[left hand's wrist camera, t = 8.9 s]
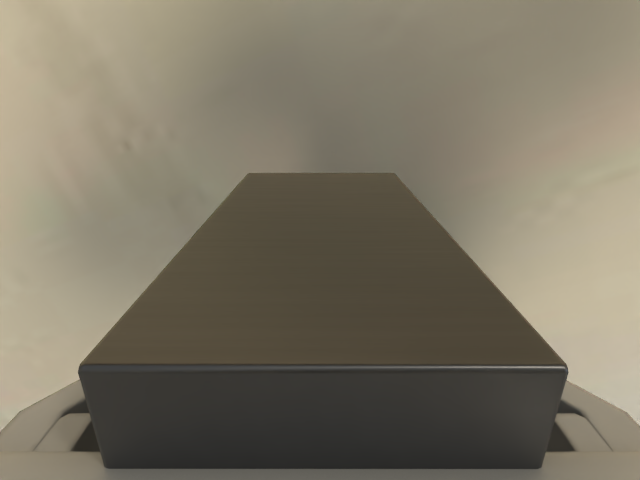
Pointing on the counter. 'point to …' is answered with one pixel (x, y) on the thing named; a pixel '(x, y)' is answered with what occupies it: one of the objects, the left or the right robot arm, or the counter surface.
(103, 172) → the counter surface
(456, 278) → the box
